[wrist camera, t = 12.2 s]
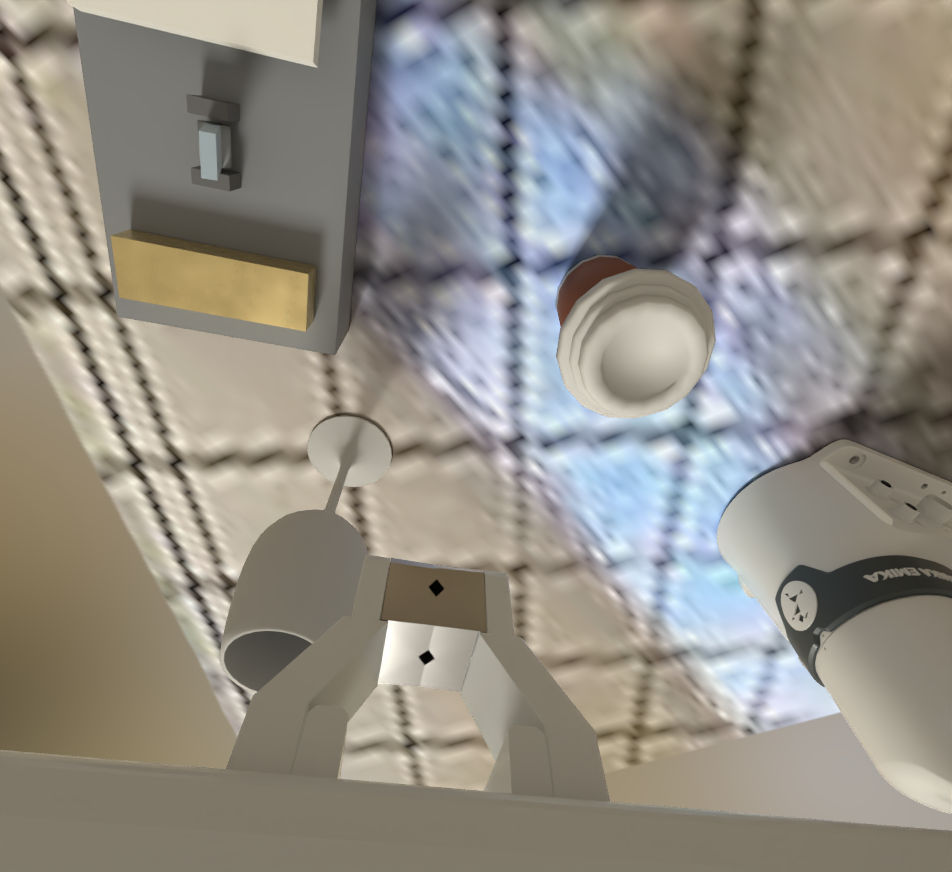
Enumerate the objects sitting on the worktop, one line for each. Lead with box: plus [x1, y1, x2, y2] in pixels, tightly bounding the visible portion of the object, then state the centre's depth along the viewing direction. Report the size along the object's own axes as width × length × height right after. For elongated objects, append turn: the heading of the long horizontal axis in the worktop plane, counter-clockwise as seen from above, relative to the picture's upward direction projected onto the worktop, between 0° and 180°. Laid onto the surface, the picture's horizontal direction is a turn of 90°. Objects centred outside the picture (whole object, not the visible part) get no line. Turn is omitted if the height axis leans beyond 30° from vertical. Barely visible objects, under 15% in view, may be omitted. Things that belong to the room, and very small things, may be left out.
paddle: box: [197, 120, 232, 181], centre depth 27 cm, size 2×2×6 cm
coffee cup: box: [556, 255, 716, 418], centre depth 35 cm, size 9×9×12 cm
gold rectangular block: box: [111, 229, 316, 331], centre depth 33 cm, size 11×4×2 cm, turn 79°
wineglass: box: [220, 415, 392, 693], centre depth 37 cm, size 8×8×21 cm
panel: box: [73, 0, 377, 355], centre depth 31 cm, size 14×23×7 cm, turn 168°
